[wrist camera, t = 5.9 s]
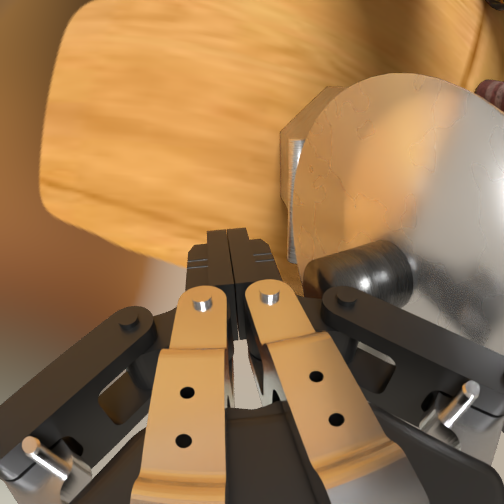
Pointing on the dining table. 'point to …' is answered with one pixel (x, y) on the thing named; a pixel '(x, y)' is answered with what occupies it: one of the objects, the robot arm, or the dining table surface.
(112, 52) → the dining table surface
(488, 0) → the deodorant
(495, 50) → the dining table surface
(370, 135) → the lid
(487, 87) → the can
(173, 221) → the dining table surface
